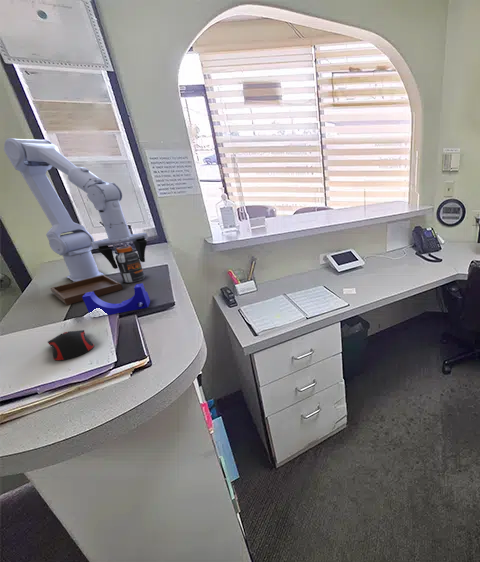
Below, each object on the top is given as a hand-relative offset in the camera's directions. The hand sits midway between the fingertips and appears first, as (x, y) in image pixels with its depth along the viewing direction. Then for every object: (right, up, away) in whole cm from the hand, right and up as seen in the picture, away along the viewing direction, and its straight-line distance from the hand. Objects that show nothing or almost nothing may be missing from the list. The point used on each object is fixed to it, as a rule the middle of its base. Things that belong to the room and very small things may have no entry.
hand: (129, 264), depth 102 cm
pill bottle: (0, -5, +2) cm, 6 cm away
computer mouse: (+17, -20, -36) cm, 44 cm away
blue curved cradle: (+13, -13, -19) cm, 27 cm away
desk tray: (-8, -9, -6) cm, 13 cm away
